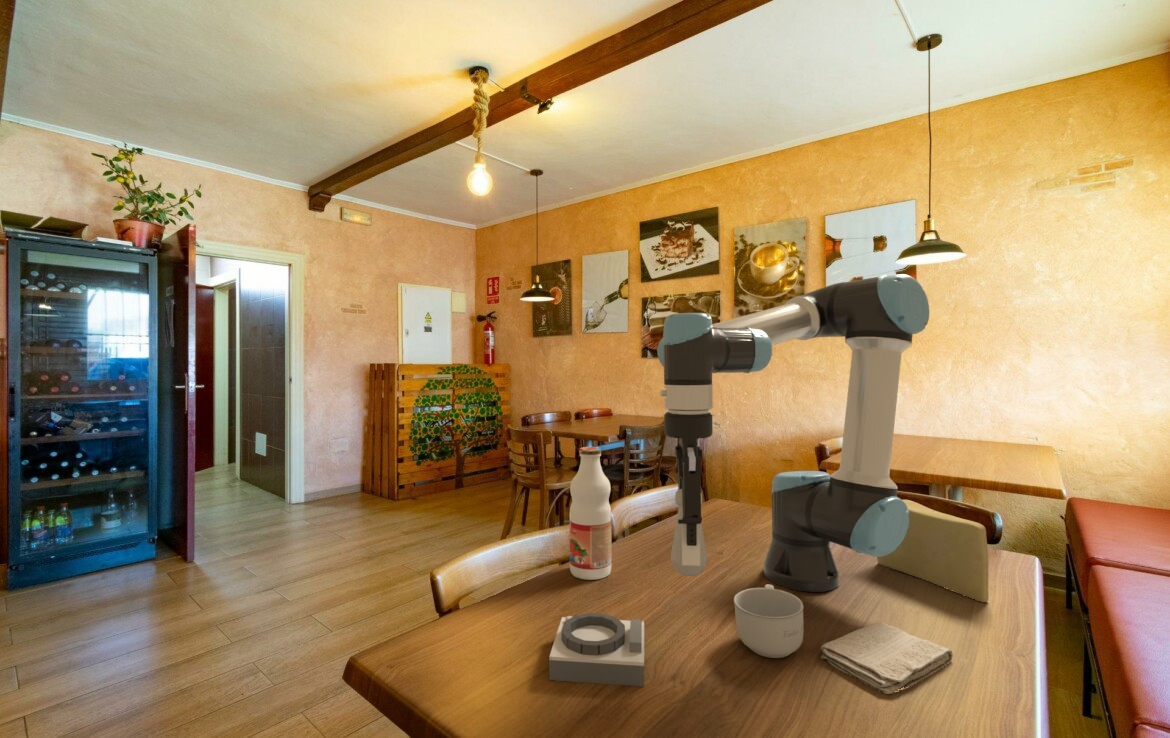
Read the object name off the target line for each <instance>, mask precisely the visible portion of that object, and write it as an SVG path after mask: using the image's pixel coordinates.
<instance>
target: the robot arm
mask: <svg viewBox="0 0 1170 738" xmlns="http://www.w3.org/2000/svg"><path fill="white" fill-rule="evenodd" d="M712 319H713V318H712V317H711V315H710V314H708V313H705V312H704V313H703V312H685V313H684V312H682V313H681V312H680V313H673V314H670V315H668V316H667V317H665V319H664V323H663V333H662V334H663V335H662V336H663V337H662V338H661V340H660V341H659V343H658V346H657V350H656V351H657V357H658V361H659V363H660V365H661V366H662V367H663V384H664V389H665V390H664V389H662V390H660V392H659V395H660V396H661V397H664V400H663V402H664V409H665V410H668V412H665V414H664V415H663V420H664V421H663V426H664V428H663V429H664V430H663V431H664V433H663V434H664V435H665V436H666V437H668V438H672V439H679V442H678V443H677V445H675V446H674V454H675V458H676V472H677V479H678V480H677V487H678V488H677V491H678V490H679V489H682V504H683V518H682V519H678V524H682V565H691V566H700V523H701V524H702V521H703V517H702V505H701V494H702V486H701V484H702V482H701V481H702V480H701V478H702V463H703V462H702V460H703V449H701V447H700V446H698V439H699V440H700V439H707V438H710V437H711V436H713V430H714V429H713V414H712V413H711V412H710V411H711V410H712V409H713V408H714V406H713V404H714V403H713V402H714V401H713V399H714V398H713V397H714V396H713V395H714V394H713V391H714V390H713V388H714V387H713V384H714V383H713V374H717V373H719V374H723V373H726V374H729V373H730V374H735V373H743V374H750V373H754V372H755V373H756V372H760V371H762V370H764V369H765V368H766V367H767V366H768V365H769V364H770V362H771V359H772V357H773V346H775V345H778V344H782V343H784V342H789V341H792V340H798V341H807V340H811V339H814V338H832V337H833V338H834V337H835V338H839V337H841V338H843V337H844V343H845V344H846V345H847V346H848V348H850V349H851V359H850V370H849V380H848V387H847V388H848V389H847V394H846V395H847V397H846V404H845V405H846V406H845V415H844V416H845V417H844V425H843V435H842V444H841V453H840V461H839V463H840V464H839V468H838V469H837V470H835V471H834V472H833V473H831V474H829V473H828V472H825V471H818V470H817V471H816V470H797V471H796V470H795V471H785V472H780V473H777V474H775V475H774V477H773V478H772V487H771V489H772V490H771V530H772V532H771V534H772V535H771V542H770V544H769V547H768V550H767V552H766V555H765V558H764V562H763V574H764V576H765V577H766V579H768V580H769V581H771V582H772V583H774V584H776V585H778V586H781V587H783V588H786V589H790V590H795V591H800V592H808V593H809V592H810V593H823V592H828V591H832V590H834V589H836V588H838V586H839V584H840V581H839V579H840V578H839V577H840V575H839V574H840V573H839V570H838V567H837V563H836V561H835V558H834V555H833V551H832V549H831V545H830V543H833V544H836V545H839V546H842V547H845V548H847V549H850V550H852V551H854V552H856V553H858V554H865V555H868V556H872V557H876V558H877V557H882V556H886V555H888V554H890V553H892V552H893V551H894V550H896V548H897V547H898V546H899V545H900V544H901V542H902V541H903V539H904V537H905V535H906V532H907V529H908V526H909V511H908V510H907V508H908V507H907V505H906V504H905V502H904V501H902V500H903V499H901V498H900V497H898V496H897V494H898V486H897V484H896V483H895V482H894V481H893V480H892V479H891V477H890V472H891V462H892V461H891V460H892V452H893V442H894V434H895V433H894V431H895V423H896V422H895V421H896V413H897V403H898V393H899V382H900V372H901V364H902V363H901V362H902V354H903V353H904V352H905V351H907V350H908V349H909V348H910V347H912V344H913V335H916V334H919V333H921V332H923V331H924V330H925V329H926V326H927V325H928V324H929V323H928V322H929V320H930V304H929V299H928V296H927V294H926V292H925V289H923V286H922V285H921V283H920V282H919V281H918V280H917V279H915V278H914V277H912V276H911V275H908V274H905V273H900V274H883V275H880V276H874V277H869V278H863V279H857V280H850V281H843V282H837V283H836V282H835V283H833V284H830V285H826V286H824V287H821V288H819V289H815V290H812V291H810V292H807V293H804V294H801V295H797V296H795V297H792V298H789V300H787V301H786V302H785V303H784V305H778V306H775V307H772V308H769V309H765V310H761V311H758V312H753V313H750V314H746V315H743V316H739V317H735V318H731V319H727V320H725V321H720V322H717V323H713V321H712ZM677 506H678V507H679V505H677Z"/></svg>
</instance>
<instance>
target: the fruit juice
mask: <svg viewBox="0 0 1170 738" xmlns="http://www.w3.org/2000/svg"><path fill="white" fill-rule="evenodd" d="M578 453H579V457H580V462H579V463H580V464H579V468H578V471H576V474H575V475H574V476H573V478H572V480H571V481H570V486H569V487H570V488H569V490H570V491H569V492H570V496H571V498H572V502H571V504H570V507H569V570H570V571H569V572H570V573H571V575H572V576H573V577H575V578H577V579H581V580H587V581H588V580H589V581H593V580H600V579H604V578H606V577H608V576H609V575H610V574H611V571H612V508H611V505H610V502H609V498H610V494H611V482H610V480H609V478H608V477H607V476H606V475H605V473H604V471H603V467H602V465H601V458H600V457H601V456H602V449H601V447H598V446H597V447H596V446H583V447H580V448H579V451H578Z"/></svg>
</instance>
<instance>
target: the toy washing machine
mask: <svg viewBox="0 0 1170 738" xmlns="http://www.w3.org/2000/svg"><path fill="white" fill-rule="evenodd" d="M548 660H549V663H548V664H549V668H548V670H549V681H559V682H571V683H573V682H575V683H585V684H586V683H589V684H601V685H602V684H603V685H617V686H629V687H630V686H633V687H634V686H635V687H645V621H642V619H635V618H634V619H630V620H623V619H619V618H618V617H616V616H612V615H609V614H606V613H602V612H601V613H599V612H585V613H581V614H575V615H573V616H571V615H567V616H562V617H561V620H560V622H559V626H558V628H557V631H556V635H555V638H554V642H553V643H552V648H551V650H550V654H549V659H548Z"/></svg>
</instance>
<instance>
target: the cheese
mask: <svg viewBox="0 0 1170 738" xmlns="http://www.w3.org/2000/svg"><path fill="white" fill-rule="evenodd" d="M901 500H902V501H904V502H905V504H906V505H907V507H908V508H907V510H908V511H909V526H908V529H907V532H906V535H905V537H904V539H903V541H902V542H901V544H900V545H899V546H898V547H897V548H896V550H894V551H893V552H892V553H890V554H888V555H886V556H882V557H876V559H877V560H876V562H877V564H879V565H880V566H883V567H886V568H889V569H892V570H895V571H898V572H900V573H903V574H907V575H908V576H912V577H914V576H915V578H917V577H918V578H917V579H920V578H921V579H920V580H922V581H925V580H926V581H925V582H928V581H929V582H928V583H930V582H932V583H931V584H933V583H934V584H933V585H935V584H937V585H936V586H938V585H939V586H938V587H940V586H942V587H945V588H948V589H950V590H953V591H955V592H958V593H960V594H962V595H965V596H967V597H966V598H968V597H970V598H972V599H971V600H973V599H975V600H978V601H981V602H980V603H987V602H988V601H989V596H990V595H989V550H988V542H987V540H988V539H987V530H986V527H985V526H984V525H983V524H981V523H980V522H976V521H973V520H969V519H965V518H961V517H957V516H954V515H951V514H947V513H943V512H940V511H938V510H934V509H931V508H929V507H927V506H924V505H923V504H920V503H918V502H915V501H912V500H909V499H901ZM942 587H941V588H942ZM945 588H944V589H945ZM950 590H949V591H950ZM955 592H954V593H955ZM960 594H959V595H960ZM962 595H961V596H962ZM965 596H964V597H965ZM970 598H969V599H970ZM975 600H974V601H975ZM978 601H977V602H978Z"/></svg>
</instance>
